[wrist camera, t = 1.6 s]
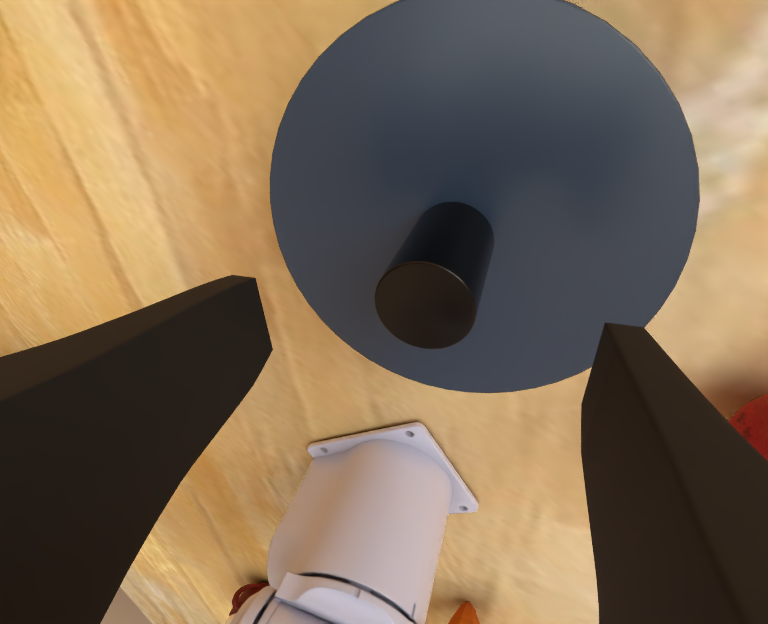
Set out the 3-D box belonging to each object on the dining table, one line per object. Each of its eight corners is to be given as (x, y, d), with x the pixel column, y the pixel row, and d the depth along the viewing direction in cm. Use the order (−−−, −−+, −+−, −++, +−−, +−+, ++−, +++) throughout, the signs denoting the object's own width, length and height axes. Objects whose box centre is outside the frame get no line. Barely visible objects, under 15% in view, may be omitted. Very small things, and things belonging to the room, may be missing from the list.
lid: (399, 400, 19) (360, 499, 15) (219, 146, 15) (103, 193, 11) (740, 319, 13) (820, 452, 9) (592, -163, 9) (622, -301, 5)
